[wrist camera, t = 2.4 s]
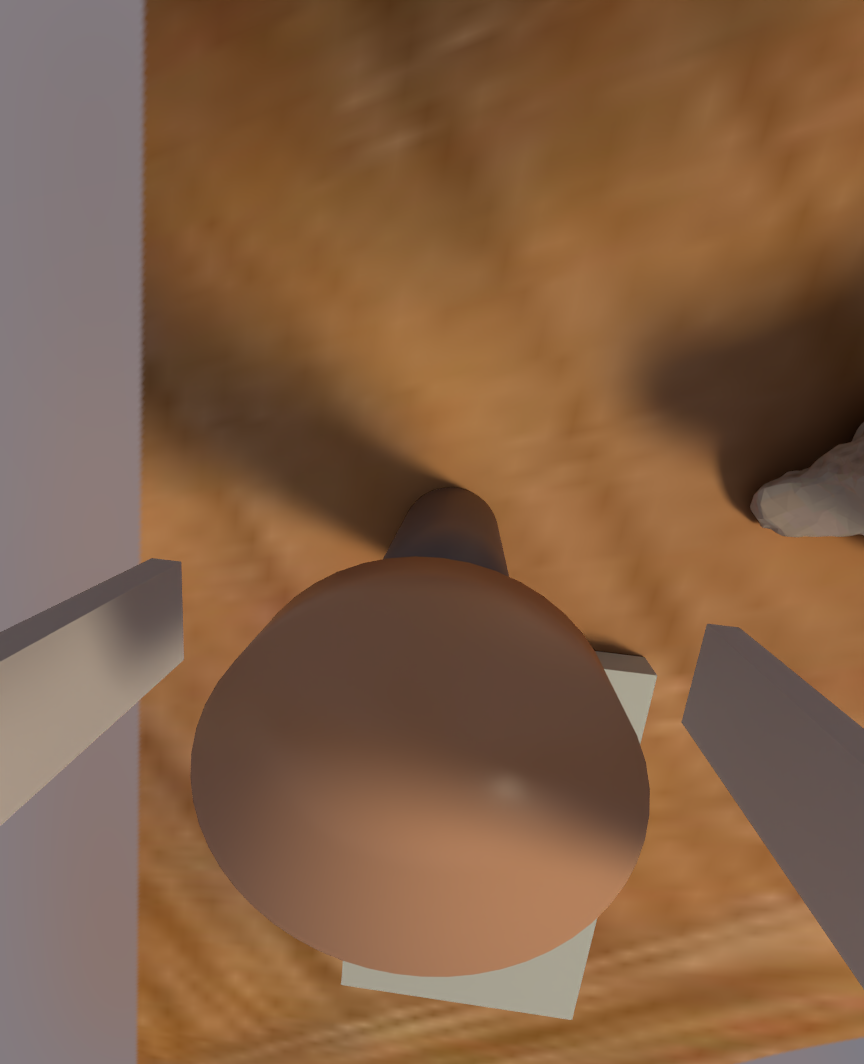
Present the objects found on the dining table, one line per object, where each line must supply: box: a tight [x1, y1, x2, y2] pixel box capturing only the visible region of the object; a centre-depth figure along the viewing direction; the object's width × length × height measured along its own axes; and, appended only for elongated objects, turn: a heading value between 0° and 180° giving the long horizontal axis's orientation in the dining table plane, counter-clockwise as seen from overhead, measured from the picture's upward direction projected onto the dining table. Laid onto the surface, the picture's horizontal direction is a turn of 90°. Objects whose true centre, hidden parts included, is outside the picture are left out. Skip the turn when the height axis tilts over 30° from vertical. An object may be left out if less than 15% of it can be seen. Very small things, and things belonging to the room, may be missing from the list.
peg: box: [191, 487, 650, 977], centre depth 14 cm, size 6×6×14 cm
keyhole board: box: [341, 651, 657, 1020], centre depth 24 cm, size 20×12×2 cm, turn 174°
